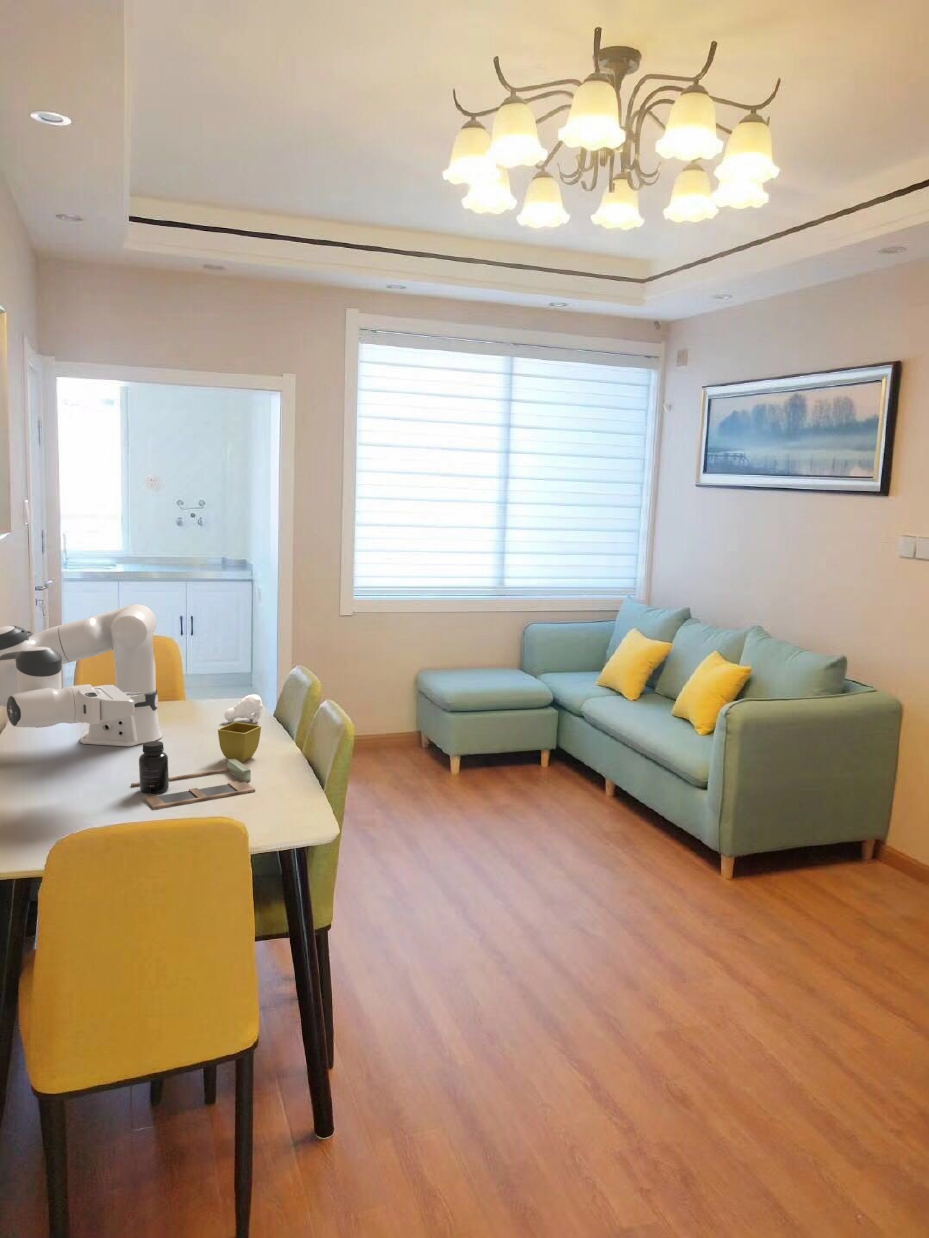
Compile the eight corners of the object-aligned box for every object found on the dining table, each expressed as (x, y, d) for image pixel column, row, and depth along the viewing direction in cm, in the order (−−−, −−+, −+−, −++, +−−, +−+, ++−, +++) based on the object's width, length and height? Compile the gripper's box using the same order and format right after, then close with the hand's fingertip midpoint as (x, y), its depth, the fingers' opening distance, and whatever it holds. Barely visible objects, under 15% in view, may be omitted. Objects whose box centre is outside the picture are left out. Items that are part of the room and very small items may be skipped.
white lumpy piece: (262, 695, 290) (224, 702, 285) (265, 721, 291) (227, 728, 287) (258, 691, 296) (221, 697, 291) (261, 716, 297) (224, 723, 293)
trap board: (153, 809, 214) (153, 797, 213) (131, 785, 229) (130, 774, 229) (262, 790, 229) (262, 778, 229) (234, 769, 245) (234, 758, 244)
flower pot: (262, 756, 256) (262, 725, 255) (245, 765, 248) (244, 733, 247) (235, 752, 259) (234, 721, 258) (217, 761, 251) (216, 729, 250)
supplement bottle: (143, 785, 230) (142, 739, 228) (171, 785, 230) (170, 739, 229) (136, 794, 223) (135, 747, 221) (165, 795, 224) (164, 747, 222)
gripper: (75, 706, 227) (132, 700, 234) (94, 726, 210) (155, 718, 218) (74, 681, 226) (132, 676, 233) (93, 699, 209) (155, 692, 217)
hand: (143, 696), depth 225 cm, fingers closed
